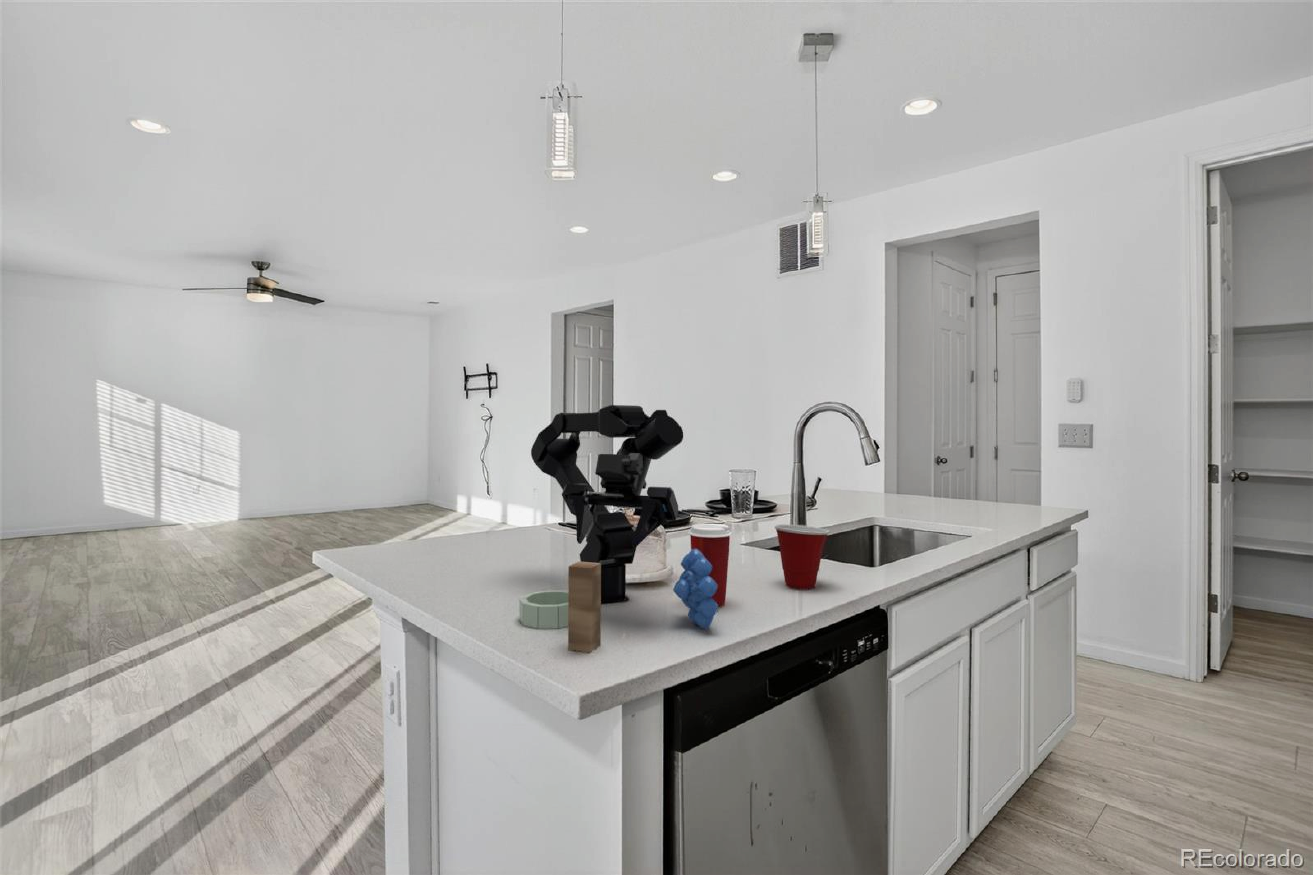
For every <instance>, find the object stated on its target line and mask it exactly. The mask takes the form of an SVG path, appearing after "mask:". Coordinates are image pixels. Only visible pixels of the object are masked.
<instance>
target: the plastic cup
mask: <svg viewBox="0 0 1313 875" xmlns="http://www.w3.org/2000/svg"><path fill="white" fill-rule="evenodd" d="M774 529H775V530H776V533H777V534H776V535H777V541H778V546H779V552H780V560H781V566H782V570H783V577H784V578H783V579H784V584H785V586H786V587H787V586H788V587H787V588H789V587H790V588H789V589H793V590H802V591H803V590H804V589H805V590H812V589H811V588H813V589H814V588H815V587H816V584H817V579H818V573H819V570H820V566H821V559H822V553H823V548H824V546H825V542H826V540H827V537H828V535H830V530H828V529H825V528H822V527H816V526H815V527H814V526H808V525H800V524H785V523H784V524H775V525H774ZM805 590H804V591H805Z"/></svg>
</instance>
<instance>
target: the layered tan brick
mask: <svg viewBox="0 0 1313 875" xmlns="http://www.w3.org/2000/svg"><path fill="white" fill-rule="evenodd" d="M567 572H568V574H567V575H568V581H567V582H568V583H567V584H568V588H567V589H568V590H567V591H568V626H567V628H568V629H567V631H568V632H567V633H568V634H567V636H568V637H567V638H568V639H567V640H568V644H567V645H568V646H567V650H568V651H570V650H574V651H573V652H578V651H581V652H580V653H586V652H589V653H588V654H592V653H593V652H594V651H595V650H597V647H598V646H599V647H600V646H601V634H602V632H601V627H602V626H601V624H602V623H601V620H602V619H601V611H602V610H601V609H602V607H601V606H602V603H601V563H592V562H581V561H577V562H575V563H573V564H571V565H569V566H568V571H567ZM599 647H598V648H599ZM575 650H576V651H575ZM593 650H594V651H593ZM592 651H593V652H592ZM591 652H592V653H591Z"/></svg>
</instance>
